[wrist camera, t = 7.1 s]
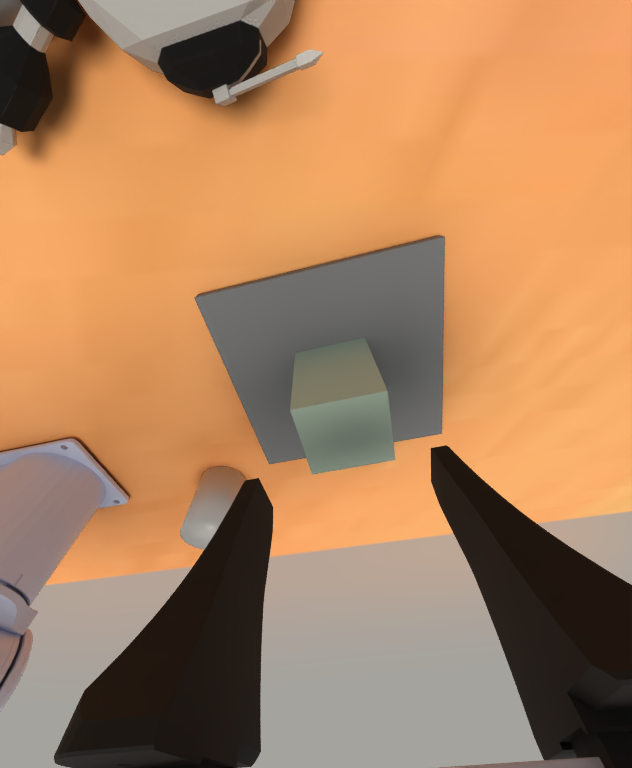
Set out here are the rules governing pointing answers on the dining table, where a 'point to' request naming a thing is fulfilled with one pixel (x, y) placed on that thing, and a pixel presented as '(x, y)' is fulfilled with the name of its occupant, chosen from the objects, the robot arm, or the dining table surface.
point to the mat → (336, 335)
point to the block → (341, 407)
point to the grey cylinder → (210, 504)
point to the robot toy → (143, 47)
